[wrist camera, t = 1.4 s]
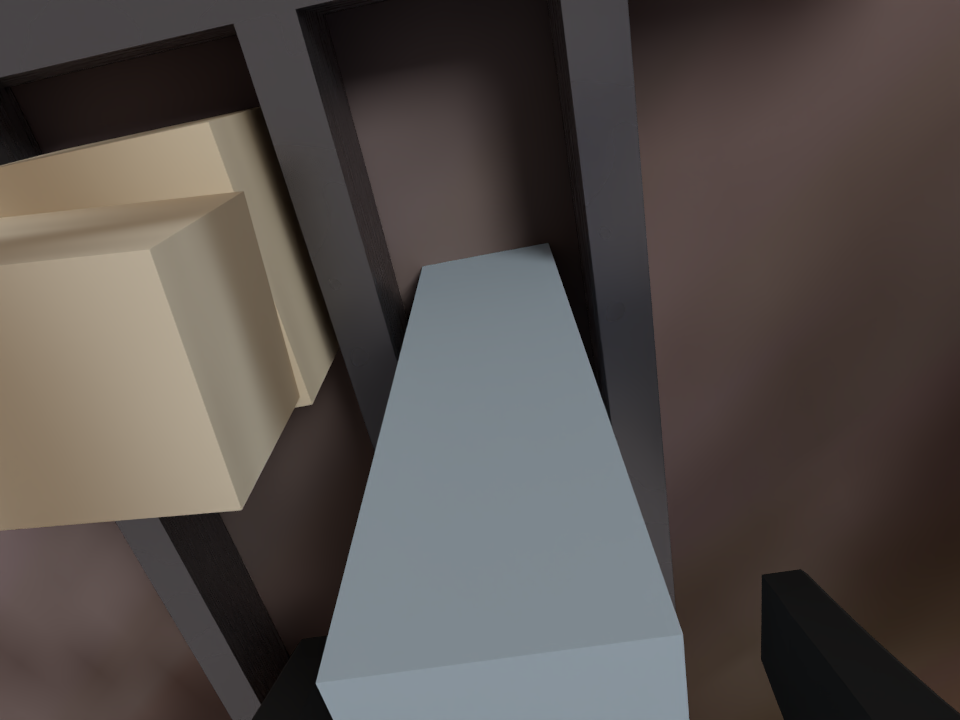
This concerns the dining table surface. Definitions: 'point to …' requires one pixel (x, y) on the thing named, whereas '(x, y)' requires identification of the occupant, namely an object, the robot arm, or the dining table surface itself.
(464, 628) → the chamfered blue-grey beam
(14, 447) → the birch offcut stack
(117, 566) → the dining table surface
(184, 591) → the rack
